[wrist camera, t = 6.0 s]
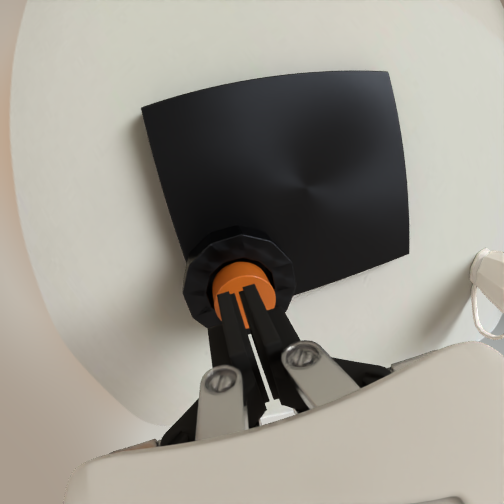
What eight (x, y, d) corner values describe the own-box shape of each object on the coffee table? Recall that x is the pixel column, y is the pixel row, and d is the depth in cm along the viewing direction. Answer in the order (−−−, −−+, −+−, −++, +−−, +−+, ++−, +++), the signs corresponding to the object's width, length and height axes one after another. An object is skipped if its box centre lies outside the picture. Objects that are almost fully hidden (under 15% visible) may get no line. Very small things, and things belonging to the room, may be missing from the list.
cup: (499, 236, 22) (549, 262, 15) (475, 312, 26) (517, 345, 18) (473, 234, 21) (533, 264, 14) (445, 322, 24) (492, 362, 17)
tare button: (221, 317, 15) (224, 335, 14) (205, 270, 14) (206, 286, 13) (272, 302, 16) (280, 318, 14) (261, 254, 14) (269, 267, 13)
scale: (202, 318, 18) (204, 346, 15) (137, 113, 13) (123, 105, 10) (400, 253, 20) (424, 268, 17) (378, 74, 14) (405, 66, 12)
